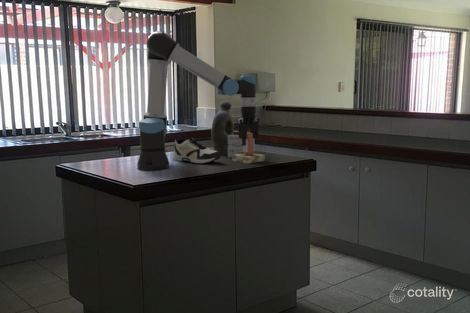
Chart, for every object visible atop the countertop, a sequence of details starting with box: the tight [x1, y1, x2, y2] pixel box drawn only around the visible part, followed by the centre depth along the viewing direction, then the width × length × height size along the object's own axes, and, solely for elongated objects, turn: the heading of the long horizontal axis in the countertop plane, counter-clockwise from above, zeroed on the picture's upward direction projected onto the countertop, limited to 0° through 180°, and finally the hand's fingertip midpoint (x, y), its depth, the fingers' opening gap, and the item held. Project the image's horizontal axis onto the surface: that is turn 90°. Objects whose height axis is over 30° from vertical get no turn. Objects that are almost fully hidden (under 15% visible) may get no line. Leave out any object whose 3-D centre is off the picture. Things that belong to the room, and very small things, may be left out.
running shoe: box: [171, 137, 221, 165], centre depth 246 cm, size 11×30×12 cm, turn 57°
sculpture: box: [210, 100, 235, 156], centre depth 271 cm, size 11×14×30 cm
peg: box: [244, 132, 254, 156], centre depth 246 cm, size 4×4×14 cm
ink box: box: [227, 134, 245, 158], centre depth 261 cm, size 9×5×12 cm, turn 84°
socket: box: [231, 152, 266, 164], centre depth 247 cm, size 12×12×3 cm
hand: (248, 151), depth 247 cm, fingers closed on peg, 4 cm apart
